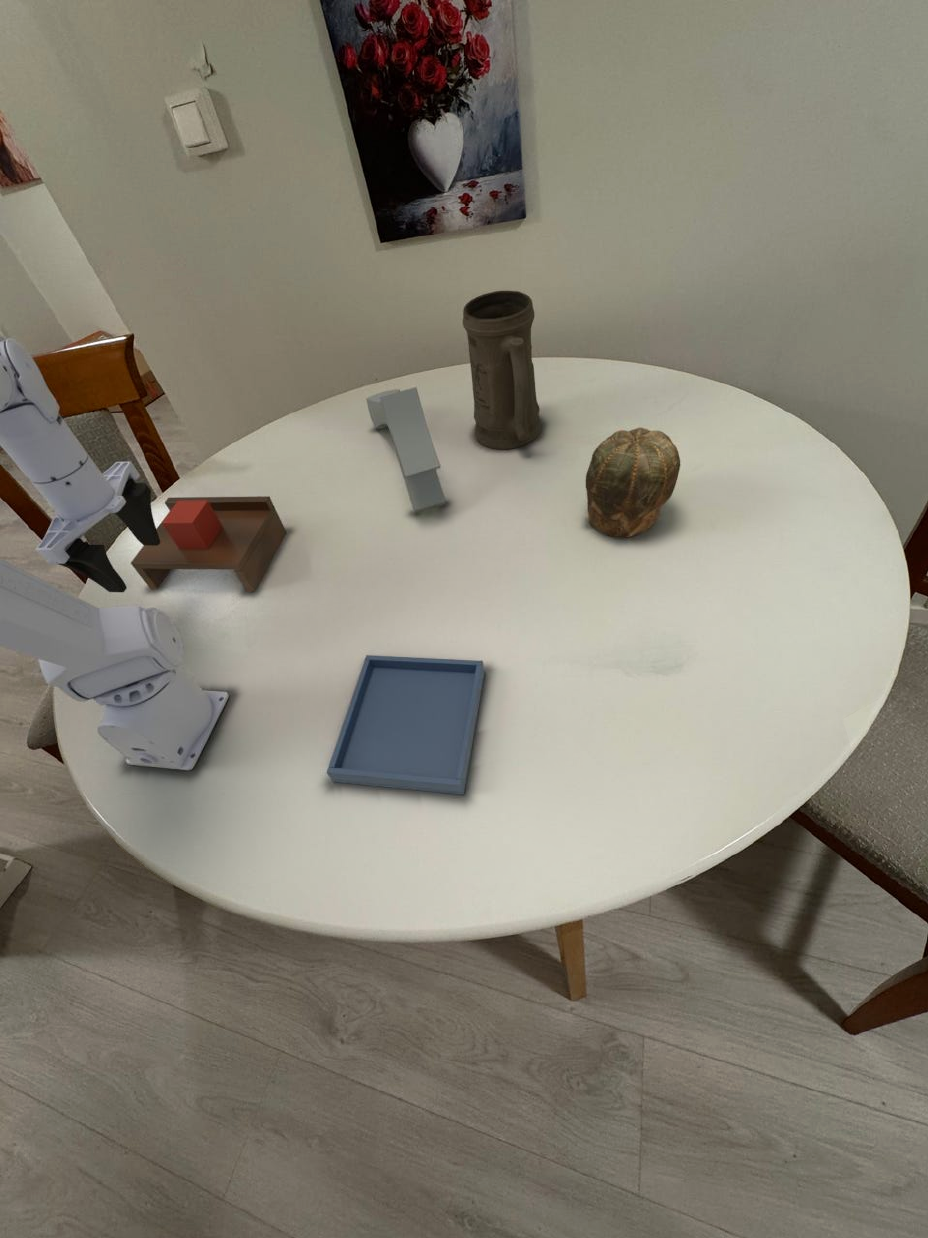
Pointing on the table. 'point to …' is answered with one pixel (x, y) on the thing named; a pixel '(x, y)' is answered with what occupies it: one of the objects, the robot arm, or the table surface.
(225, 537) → the shelf
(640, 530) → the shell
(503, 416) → the beer stein
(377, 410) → the faucet
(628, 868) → the table surface
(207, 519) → the block
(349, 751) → the tray
